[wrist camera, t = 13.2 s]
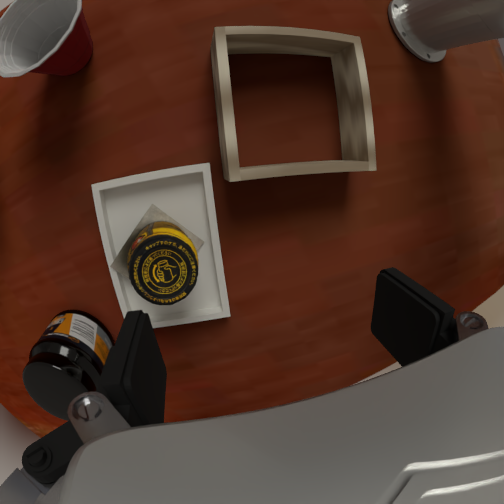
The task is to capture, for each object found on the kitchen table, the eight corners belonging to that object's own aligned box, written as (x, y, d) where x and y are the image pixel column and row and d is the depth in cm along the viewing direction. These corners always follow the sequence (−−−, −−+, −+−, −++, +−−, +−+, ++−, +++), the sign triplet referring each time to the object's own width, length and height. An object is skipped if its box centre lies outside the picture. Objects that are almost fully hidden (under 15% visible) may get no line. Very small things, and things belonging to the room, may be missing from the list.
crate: (210, 48, 26) (214, 27, 21) (336, 51, 29) (359, 37, 23) (223, 178, 32) (230, 182, 26) (349, 167, 34) (376, 170, 28)
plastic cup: (31, 103, 23) (-25, 89, 12) (46, 31, 20) (4, -3, 9) (105, 90, 25) (65, 60, 14) (119, 15, 22) (95, -35, 11)
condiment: (204, 241, 32) (228, 261, 21) (162, 301, 32) (165, 349, 21) (152, 203, 30) (147, 201, 19) (110, 265, 29) (85, 299, 18)
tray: (98, 182, 29) (91, 184, 26) (208, 162, 31) (209, 162, 28) (131, 320, 35) (128, 331, 32) (228, 306, 37) (230, 316, 34)
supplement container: (97, 298, 33) (67, 354, 22) (128, 361, 36) (115, 423, 25) (40, 313, 32) (3, 363, 20) (72, 370, 35) (51, 425, 24)
